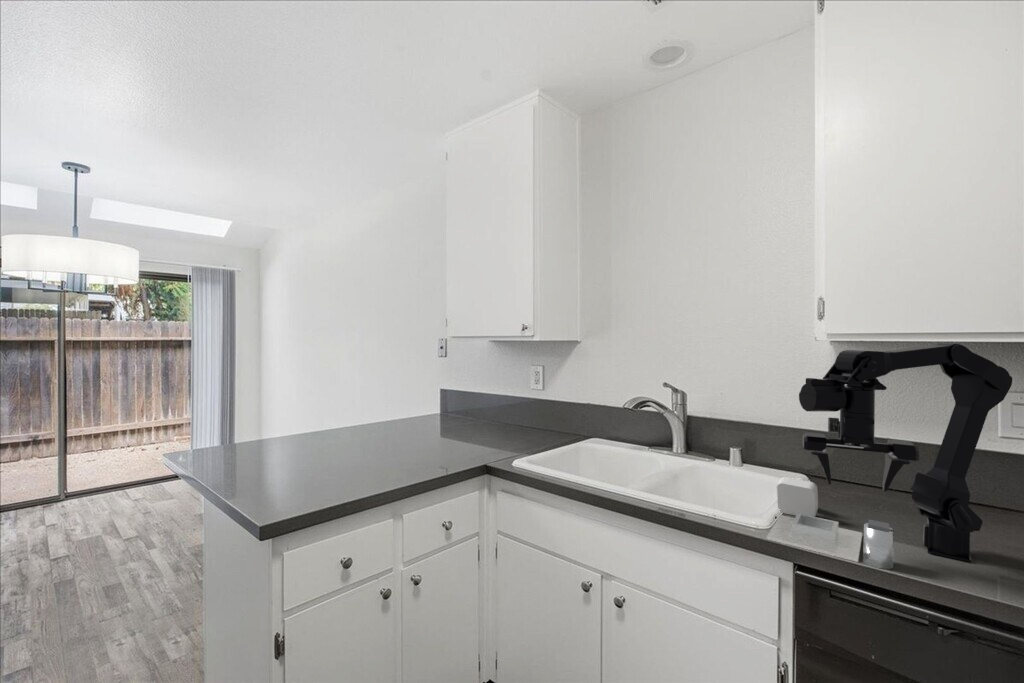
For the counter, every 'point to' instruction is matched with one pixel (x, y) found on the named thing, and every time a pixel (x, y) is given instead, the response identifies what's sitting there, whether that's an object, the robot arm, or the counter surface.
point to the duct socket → (817, 536)
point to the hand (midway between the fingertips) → (856, 487)
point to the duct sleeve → (878, 544)
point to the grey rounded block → (797, 496)
